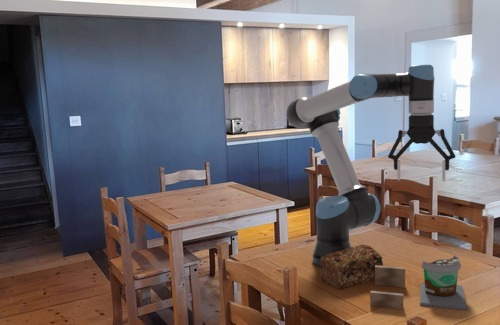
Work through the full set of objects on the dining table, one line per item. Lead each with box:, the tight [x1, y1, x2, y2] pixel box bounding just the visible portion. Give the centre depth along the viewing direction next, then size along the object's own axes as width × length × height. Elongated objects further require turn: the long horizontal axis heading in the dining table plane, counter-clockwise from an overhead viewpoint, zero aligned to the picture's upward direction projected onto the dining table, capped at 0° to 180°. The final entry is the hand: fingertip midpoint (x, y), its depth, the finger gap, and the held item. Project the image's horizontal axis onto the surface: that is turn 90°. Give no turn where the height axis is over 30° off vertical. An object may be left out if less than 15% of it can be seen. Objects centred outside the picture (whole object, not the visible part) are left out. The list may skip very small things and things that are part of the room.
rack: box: [369, 265, 406, 310], centre depth 138 cm, size 9×16×6 cm, turn 160°
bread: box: [319, 244, 384, 290], centre depth 152 cm, size 19×11×10 cm, turn 116°
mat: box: [419, 281, 468, 311], centre depth 136 cm, size 12×15×1 cm
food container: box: [421, 254, 462, 297], centre depth 135 cm, size 12×6×10 cm, turn 109°
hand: (420, 180), depth 150 cm, fingers open, 13 cm apart
